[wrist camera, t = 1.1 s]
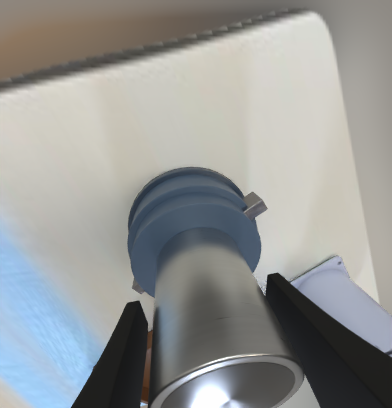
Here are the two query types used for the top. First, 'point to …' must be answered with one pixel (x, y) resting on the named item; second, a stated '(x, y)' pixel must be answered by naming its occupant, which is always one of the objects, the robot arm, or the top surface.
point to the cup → (215, 330)
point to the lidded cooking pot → (189, 218)
